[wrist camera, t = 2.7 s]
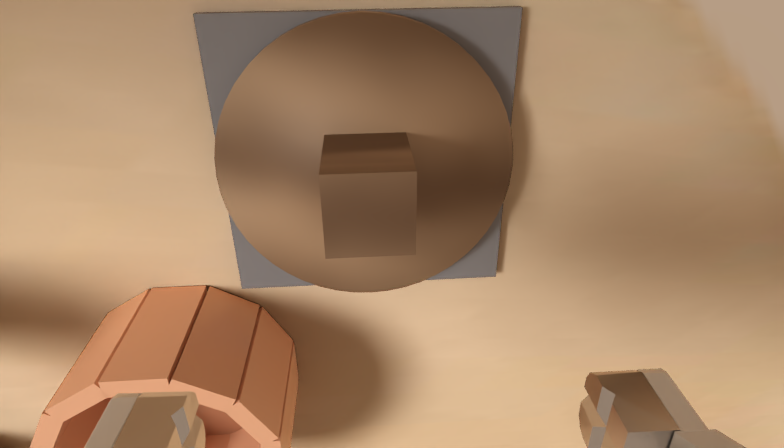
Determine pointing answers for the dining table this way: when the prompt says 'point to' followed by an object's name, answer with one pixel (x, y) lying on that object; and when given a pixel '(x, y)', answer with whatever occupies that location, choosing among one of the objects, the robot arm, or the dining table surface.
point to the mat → (259, 28)
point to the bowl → (184, 368)
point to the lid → (363, 152)
